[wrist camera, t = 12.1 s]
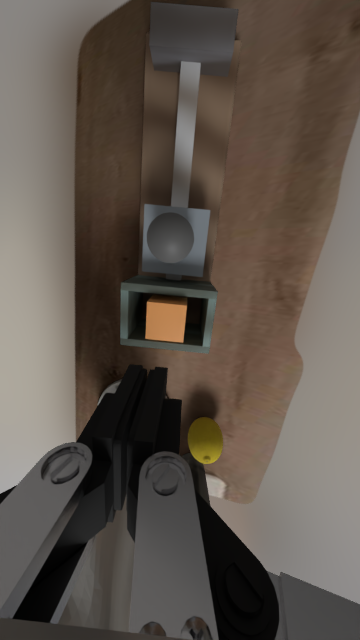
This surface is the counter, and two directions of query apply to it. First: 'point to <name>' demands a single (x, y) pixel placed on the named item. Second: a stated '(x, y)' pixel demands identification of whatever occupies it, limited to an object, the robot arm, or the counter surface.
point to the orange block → (166, 318)
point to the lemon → (205, 440)
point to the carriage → (174, 240)
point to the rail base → (202, 157)
